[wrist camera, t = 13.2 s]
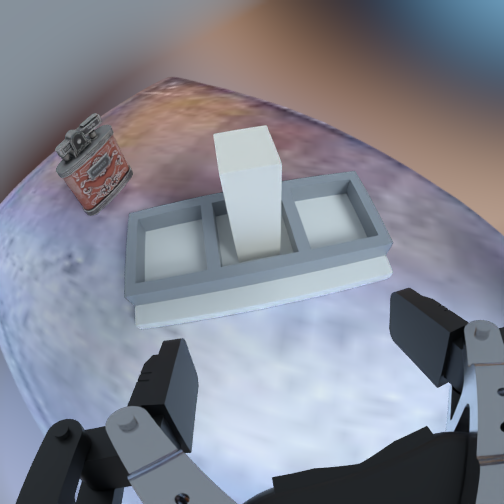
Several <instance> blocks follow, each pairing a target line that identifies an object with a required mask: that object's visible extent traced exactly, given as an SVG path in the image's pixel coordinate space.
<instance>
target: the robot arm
mask: <svg viewBox="0 0 504 504" xmlns="http://www.w3.org/2000/svg"><path fill="white" fill-rule="evenodd" d="M389 329H390V334H391V337H392V339H393V341H394V342H395V343H396V344H397V345H398V346H399V347H400V348H401V350H402V351H403V352H404V353H405V354H406V355H407V356H408V357H409V358H410V359H411V360H412V361H413V362H414V363H415V364H416V365H417V366H418V368H419V369H420V370H421V371H422V372H423V373H424V374H425V375H426V376H427V377H428V378H429V379H430V380H431V382H432V383H433V384H434V385H435V386H436V387H437V388H438V387H440V386H442V385H444V384H446V383H448V382H449V383H450V384H451V385H450V389H449V398H448V413H447V424H446V431H445V432H441V433H435V434H433V433H432V432H431V431H430V429H429V428H428V427H427V426H426V427H424V428H422V429H420V430H418V431H416V432H414V433H411V434H409V435H407V436H405V437H403V438H401V439H398V440H396V441H394V442H393V443H391V444H390V445H388V446H387V447H385V448H384V449H382V450H381V451H379V452H378V453H376V454H375V455H373V456H372V457H370V458H369V459H367V460H365V461H364V462H362V463H360V464H356V465H348V466H339V467H328V468H314V469H310V470H306V471H302V472H297V473H292V474H288V475H282V476H277V477H272V480H273V486H274V487H273V488H271V489H268V490H266V491H264V492H261V493H259V494H257V495H256V496H254V497H252V498H251V499H249V500H247V501H246V502H245V503H243V504H504V327H502V328H498V327H497V326H496V325H495V324H493V323H491V322H489V321H484V320H476V321H472V322H470V323H468V322H467V321H465V320H464V319H462V318H461V317H459V316H458V315H456V314H455V313H453V312H452V311H450V310H448V309H447V308H446V307H444V306H441V304H440V303H438V302H437V301H435V300H434V299H431V298H428V297H424V296H422V295H420V294H419V293H417V292H416V291H414V290H413V289H411V288H406V289H403V290H400V291H397V292H393V293H392V295H391V298H390V325H389ZM197 394H198V377H197V373H196V370H195V367H194V364H193V361H192V359H191V356H190V353H189V350H188V347H187V344H186V342H185V340H184V339H183V338H182V339H175V340H167V341H163V343H162V346H161V349H160V351H159V354H158V355H153V356H152V357H151V358H150V359H149V360H148V361H147V362H146V363H145V364H144V366H143V368H142V371H141V375H140V376H139V378H138V382H137V383H136V386H135V388H134V391H133V393H132V396H131V398H130V401H129V403H128V406H127V407H124V408H121V409H119V410H117V411H115V412H114V413H113V414H112V415H111V416H110V417H109V418H108V420H107V422H106V426H104V427H99V428H94V429H89V430H84V429H83V427H82V426H81V424H80V423H79V422H78V421H76V420H73V419H65V420H61V421H59V422H57V423H55V424H54V425H53V426H52V427H51V428H50V429H49V430H48V432H47V434H46V436H45V438H44V440H43V442H42V444H41V446H40V448H39V450H38V452H37V454H36V457H35V459H34V461H33V463H32V466H31V467H30V470H29V472H28V474H27V477H26V479H25V482H24V484H23V486H22V489H21V491H20V494H19V496H18V499H17V502H16V504H121V503H122V497H123V491H124V487H128V486H132V487H133V488H134V490H135V492H136V493H137V495H138V496H139V498H140V499H141V501H142V503H143V504H237V503H236V502H235V501H234V500H232V499H231V498H230V497H229V496H228V495H227V494H226V493H225V492H223V491H222V490H221V489H220V488H219V487H218V486H217V485H216V484H215V483H214V482H213V481H212V480H211V479H210V478H209V477H208V476H207V475H205V474H204V473H203V472H202V471H201V470H200V468H199V467H198V466H197V465H196V464H195V463H194V462H193V461H192V460H191V459H190V458H189V457H188V456H187V455H186V454H185V453H191V451H192V440H193V430H194V421H195V412H196V403H197ZM79 479H81V480H82V483H81V486H80V490H79V493H78V497H77V501H76V502H75V492H76V488H77V485H78V482H79Z"/></svg>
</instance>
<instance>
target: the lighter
mask: <svg viewBox="0 0 504 504" xmlns="http://www.w3.org/2000/svg"><path fill="white" fill-rule="evenodd" d="M101 122H102V120H101V118H100V116H99V114H96V113H94V114H92V115H91V116H90V117H88V118H87V119H86V120H85V121H84V122H82V123H81V124H80V126H79V127H78V128H77V129H76V130H69V131H68V132H67V133H66V136H65V140H64V141H63V142H62V143H61V144H59V145H58V146H57V147H56V149H55V150H56V152H57V153H58V155H59V157H61V158H62V159H63V160H62V161H61V162H60V163H59V165H58V166H57V168H56V172H57V173H58V175H59V176H60V177H61V178H63V179H64V181H65V182H66V184H67V185H68V186H69V188H70V189H71V191H72V192H73V193H74V195H75V196H76V198H77V199H78V200H79V202H80V203H81V204H82V206H83V209H84V211H85V212H86V213H87V214H88V215H89V216H93V215H96V214H97V213H99V212H100V211H101V210H102V209H103V208H104V207H105V206H107V205H108V204H109V203H110V202H111V201H112V200H113V199H114V198H115V197H116V196H117V194H118V193H119V192H120V191H121V190H122V189H123V187H124V186H125V185H126V184H127V182H128V181H129V180H130V178H131V177H132V175H133V172H132V170H131V168H130V166H129V165H127V163H126V161H125V159H124V157H123V155H122V153H121V150H120V148H119V146H118V144H117V142H116V140H115V138H114V136H113V130H112V128H111V126H110V125H103V126H101V127H99V128H97V129H96V130H93V129H95V128H96V127H97V126H98V125H99V124H100V123H101ZM86 135H88V136H87V137H85V136H86Z"/></svg>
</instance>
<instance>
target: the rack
mask: <svg viewBox="0 0 504 504" xmlns="http://www.w3.org/2000/svg"><path fill="white" fill-rule="evenodd" d="M392 244H393V241H392V239H391V237H390V235H389V233H388V231H387V229H386V227H385V225H384V223H383V221H382V219H381V217H380V215H379V213H378V211H377V210H376V208H375V206H374V204H373V202H372V200H371V198H370V196H369V195H368V193H367V191H366V189H365V188H364V186H363V184H362V182H361V180H360V179H359V177H358V175H357V174H356V172H355V171H351V172H343V173H335V174H328V175H320V176H313V177H307V178H300V179H293V180H287V181H282V192H281V242H280V254H279V255H273V256H268V257H263V258H258V259H253V260H247V261H242V262H239V261H238V256H237V252H236V247H235V243H234V239H233V234H232V230H231V225H230V221H229V216H228V212H227V207H226V203H225V198H224V194H223V192H221V193H216V194H211V195H206V196H201V197H197V198H192V199H188V200H183V201H179V202H174V203H170V204H166V205H162V206H157V207H153V208H149V209H145V210H141V211H137V212H133V213H129V220H128V231H127V244H126V260H125V288H124V297H125V298H126V299H127V300H128V301H130V302H131V303H132V304H133V305H134V306H135V326H137V327H138V328H140V329H141V330H142V329H149V328H156V327H163V326H169V325H176V324H182V323H189V322H195V321H201V320H206V319H212V318H218V317H223V316H229V315H234V314H239V313H245V312H250V311H255V310H260V309H265V308H269V307H274V306H279V305H284V304H288V303H293V302H297V301H302V300H306V299H310V298H315V297H319V296H323V295H327V294H331V293H336V292H340V291H344V290H348V289H351V288H355V287H359V286H363V285H367V284H371V283H374V282H378V281H382V280H385V279H389V277H390V276H391V275H392V273H393V271H392V269H391V266H390V264H389V262H388V259H387V257H386V254H387V252H388V251H389V249H390V248H391V246H392Z"/></svg>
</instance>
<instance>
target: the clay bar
mask: <svg viewBox="0 0 504 504" xmlns="http://www.w3.org/2000/svg"><path fill="white" fill-rule="evenodd" d="M213 135H214V142H215V149H216V156H217V163H218V169H219V176H220V180H221V185H222V189H223V194H224V198H225V203H226V207H227V212H228V216H229V221H230V225H231V230H232V234H233V239H234V243H235V247H236V252H237V256H238V261H239V262H242V261H247V260H253V259H258V258H263V257H268V256H273V255H279V254H280V242H281V192H282V163H281V160H280V158H279V155H278V153H277V150H276V148H275V145H274V143H273V140H272V138H271V135H270V133H269V130H268V128H267V126H259V127H252V128H246V129H239V130H233V131H228V132H222V133H217V134H213Z"/></svg>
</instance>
